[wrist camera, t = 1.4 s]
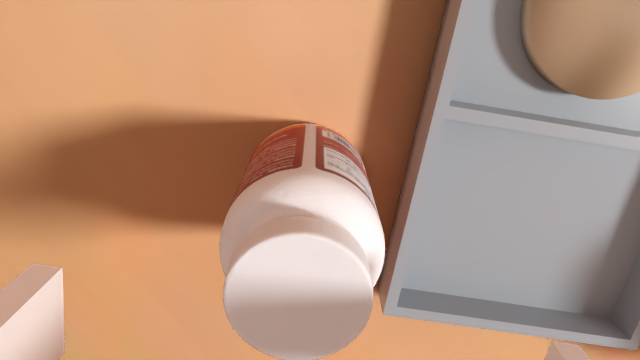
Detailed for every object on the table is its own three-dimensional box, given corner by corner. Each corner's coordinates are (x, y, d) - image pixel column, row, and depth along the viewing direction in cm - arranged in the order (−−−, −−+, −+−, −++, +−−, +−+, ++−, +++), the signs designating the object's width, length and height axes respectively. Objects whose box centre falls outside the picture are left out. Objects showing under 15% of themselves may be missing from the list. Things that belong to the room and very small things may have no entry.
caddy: (377, 287, 27) (382, 314, 25) (485, -162, 19) (508, -185, 17) (609, 321, 28) (636, 350, 25) (801, -100, 20) (864, -113, 18)
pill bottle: (248, 227, 26) (198, 377, 15) (248, 117, 24) (190, 204, 13) (361, 233, 26) (387, 385, 15) (371, 123, 24) (409, 215, 13)
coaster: (499, 80, 22) (508, 84, 21) (552, -100, 20) (565, -107, 19) (651, 107, 23) (668, 112, 22) (722, -67, 20) (746, -72, 19)
